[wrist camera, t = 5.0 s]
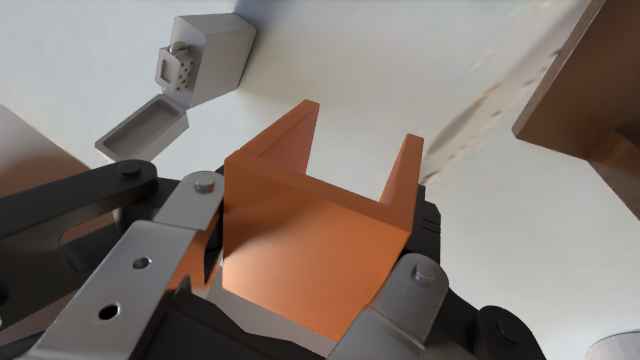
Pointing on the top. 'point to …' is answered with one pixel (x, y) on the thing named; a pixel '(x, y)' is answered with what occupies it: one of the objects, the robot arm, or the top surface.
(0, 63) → the top surface
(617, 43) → the handle stand
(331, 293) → the clip
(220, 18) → the lighter
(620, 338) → the coffee cup
